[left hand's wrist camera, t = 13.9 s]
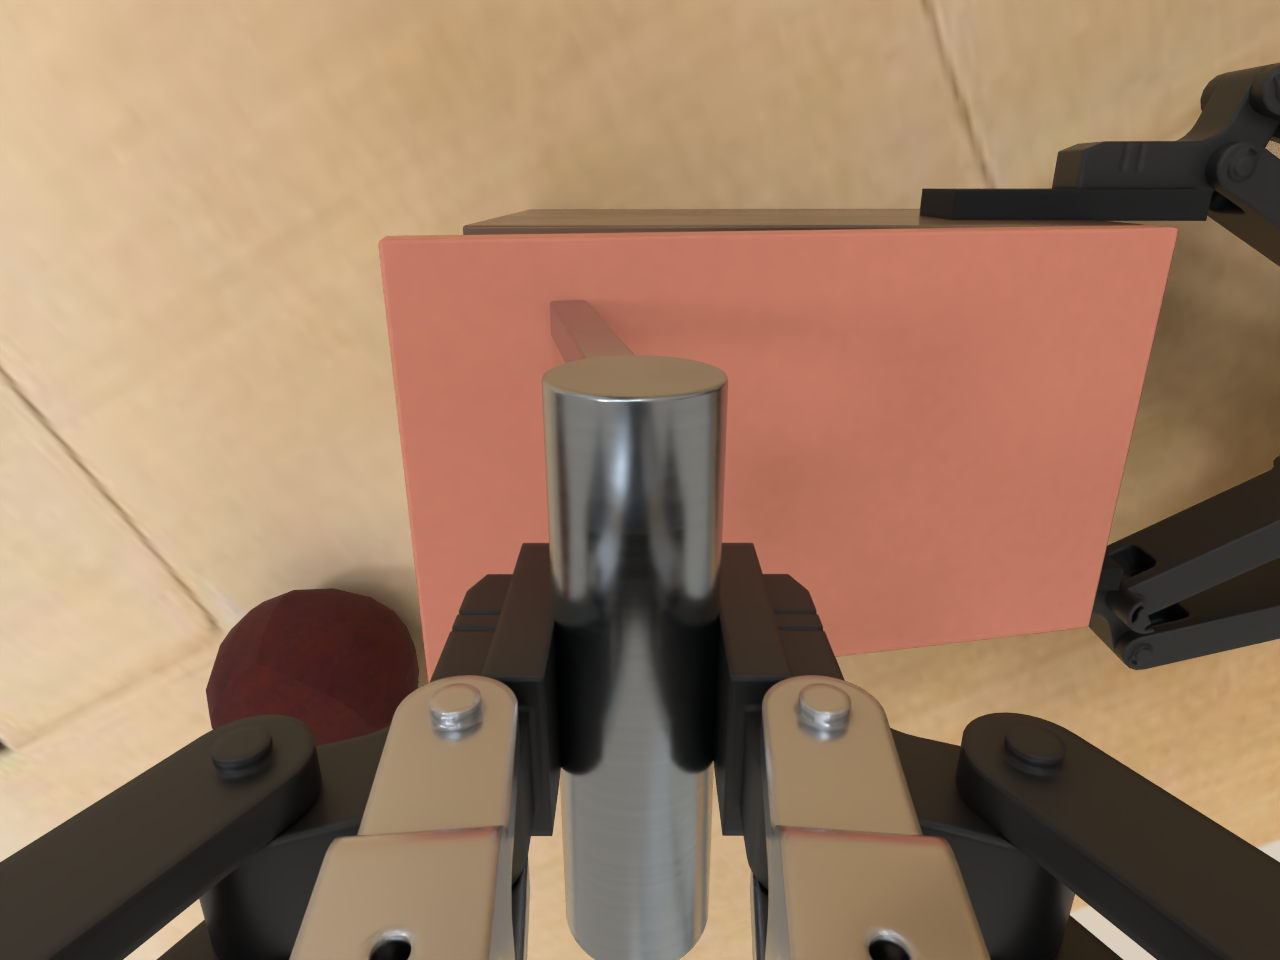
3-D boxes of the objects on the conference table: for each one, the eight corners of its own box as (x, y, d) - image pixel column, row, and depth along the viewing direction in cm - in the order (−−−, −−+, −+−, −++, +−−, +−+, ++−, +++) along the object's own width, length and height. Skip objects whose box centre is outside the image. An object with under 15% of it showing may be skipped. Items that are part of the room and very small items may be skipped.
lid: (432, 679, 19) (399, 1074, 10) (382, 235, 15) (274, 302, 7) (1063, 609, 22) (1424, 872, 14) (1144, 225, 18) (1702, 262, 10)
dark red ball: (391, 734, 36) (332, 859, 29) (233, 651, 35) (133, 762, 28) (471, 617, 34) (427, 723, 27) (306, 523, 32) (216, 610, 26)
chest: (541, 475, 32) (491, 604, 22) (527, 209, 28) (462, 225, 19) (941, 477, 31) (1066, 608, 22) (979, 209, 28) (1148, 224, 18)
